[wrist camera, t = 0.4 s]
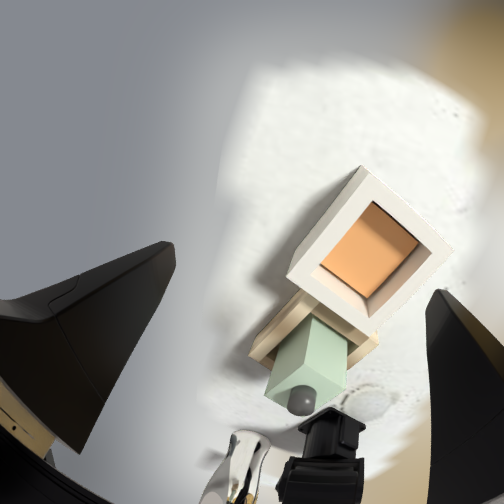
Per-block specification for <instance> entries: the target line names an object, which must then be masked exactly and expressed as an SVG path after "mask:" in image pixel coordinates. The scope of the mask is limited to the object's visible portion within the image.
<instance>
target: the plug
mask: <svg viewBox="0 0 504 504" xmlns="http://www.w3.org/2000/svg"><path fill="white" fill-rule="evenodd" d="M346 375H347V337H345V336H344V335H342V334H341V333H339V332H338V331H336V330H335V329H334V328H332V327H331V326H329V325H328V324H326V323H325V322H324V321H322V320H321V319H319V318H318V317H316V316H315V315H314V314H312V313H311V312H310V313H309V314H308V315H307V316H306V317H305V318H304V319H303V320H302V321H301V322H300V323H299V324H298V325H297V326H296V327H295V328H294V329H293V330H292V331H291V332H290V333H289V334H288V335H287V336H286V337H285V338H284V339H283V340H282V341H281V343H280V347H279V350H278V353H277V356H276V360H275V363H274V366H273V369H272V372H271V375H270V378H269V381H268V384H267V387H266V391H265V394H264V396H265V397H267V398H269V399H271V400H272V401H274V402H276V403H278V404H279V405H281V406H283V407H285V408H286V409H287V410H288V411H289V412H290V413H292V414H293V415H296V416H301V417H305V416H308V415H310V414H312V413H313V412H314V410H316V409H318V408H319V407H321V406H322V405H324V404H325V403H327V402H328V401H330V400H331V399H333V398H334V397H336V396H337V395H339V394H340V393H342V392H343V391H345V390H346Z"/></svg>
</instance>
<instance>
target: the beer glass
mask: <svg viewBox="0 0 504 504" xmlns="http://www.w3.org/2000/svg"><path fill="white" fill-rule="evenodd" d="M270 447H271V443H270V441H269V440H268V439H267V438H266V437H265V436H263V435H261V434H259V433H257V432H253V431H248V430H239V431H235V432H234V433H232V435H231V438H230V444H229V449H228V452H227V454H226V456H225V458H224V460H223V461H222V463H221V464H220V466H219V467H218V469H217V470H216V471H215V473H214V474H213V476H212V477H211V479H210V481H209V482H208V484H207V486H206V488H205V490H204V492H203V494H202V497H201V499H200V502H199V504H256V501H257V498H258V492H259V484H260V474H261V467H262V463H263V460H264V458H265V456H266V454H267V452H268V451H269V449H270Z"/></svg>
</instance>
